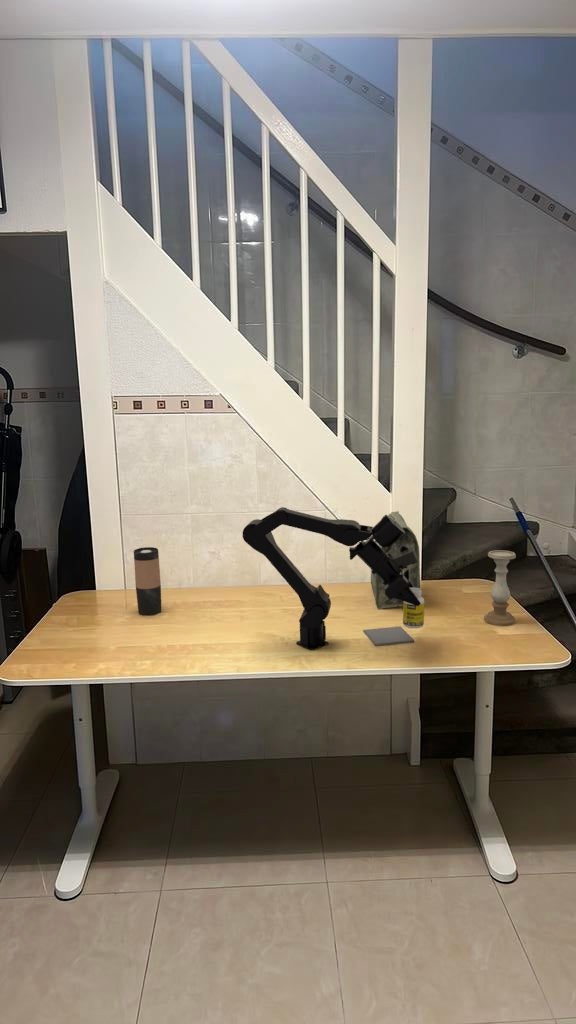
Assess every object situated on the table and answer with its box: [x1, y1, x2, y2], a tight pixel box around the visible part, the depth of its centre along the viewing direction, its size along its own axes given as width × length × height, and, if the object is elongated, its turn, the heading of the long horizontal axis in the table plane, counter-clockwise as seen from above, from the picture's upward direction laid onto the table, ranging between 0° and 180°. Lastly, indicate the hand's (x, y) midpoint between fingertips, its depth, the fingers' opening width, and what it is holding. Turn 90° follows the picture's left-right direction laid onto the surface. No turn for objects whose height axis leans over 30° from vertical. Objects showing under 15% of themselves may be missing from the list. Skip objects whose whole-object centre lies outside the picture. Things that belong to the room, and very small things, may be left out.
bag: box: [370, 510, 421, 609], centre depth 221 cm, size 22×16×27 cm
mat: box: [363, 625, 415, 647], centre depth 190 cm, size 11×11×1 cm
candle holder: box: [483, 549, 517, 627], centre depth 199 cm, size 9×9×20 cm
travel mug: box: [133, 546, 162, 617], centre depth 215 cm, size 8×8×20 cm
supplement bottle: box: [402, 587, 425, 629], centre depth 180 cm, size 5×5×10 cm
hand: (419, 601), depth 180 cm, fingers closed on supplement bottle, 5 cm apart
